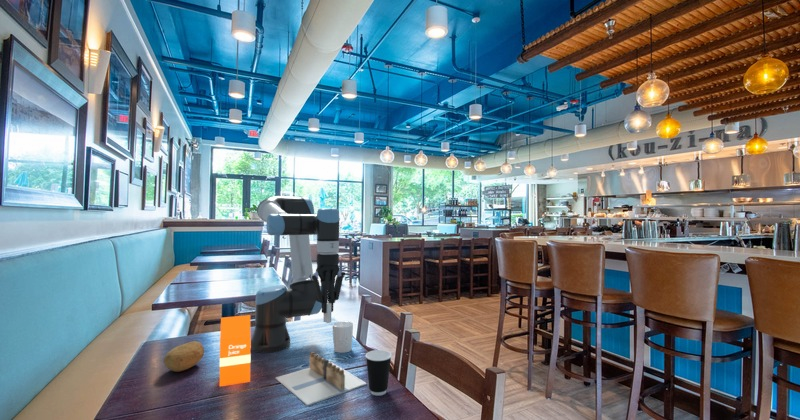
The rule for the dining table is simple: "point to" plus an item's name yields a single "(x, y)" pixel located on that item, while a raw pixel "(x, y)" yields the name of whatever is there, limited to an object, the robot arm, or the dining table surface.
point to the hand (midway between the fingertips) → (327, 321)
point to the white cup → (342, 336)
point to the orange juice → (235, 350)
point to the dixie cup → (378, 371)
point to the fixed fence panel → (334, 375)
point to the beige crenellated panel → (317, 363)
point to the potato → (184, 356)
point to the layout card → (316, 385)
